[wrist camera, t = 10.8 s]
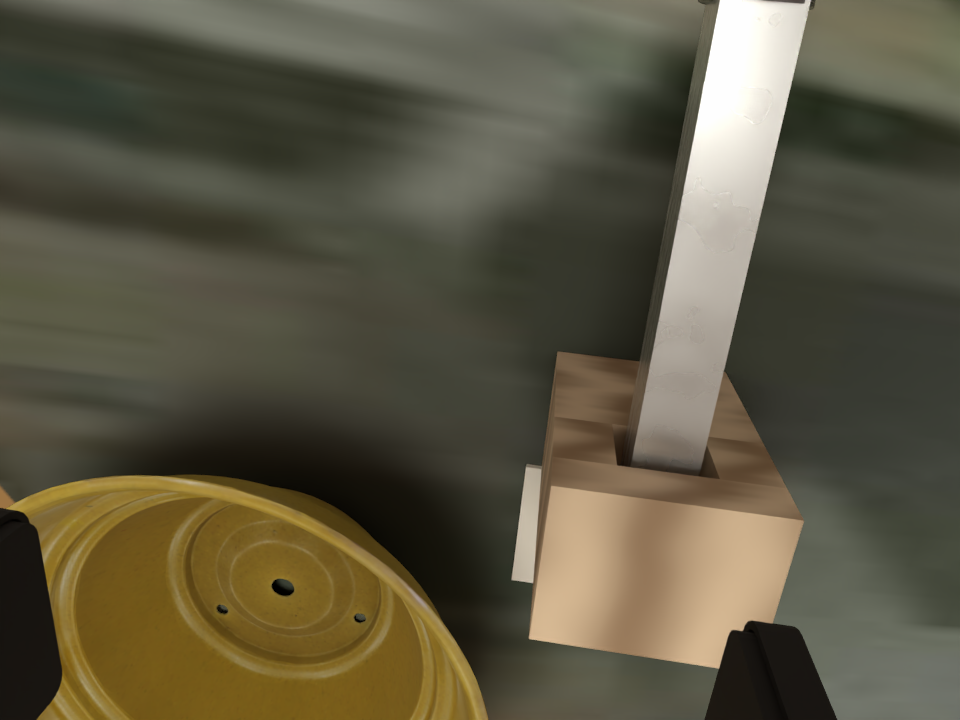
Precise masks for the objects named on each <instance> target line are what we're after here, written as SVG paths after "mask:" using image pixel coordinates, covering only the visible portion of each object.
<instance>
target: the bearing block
mask: <svg viewBox="0 0 960 720" xmlns="http://www.w3.org/2000/svg"><path fill="white" fill-rule="evenodd" d="M638 367H639V361H631V360H623V359H615V358H607V357H599V356H591V355H583V354H575V353H567V352H557V359H556V366H555V373H554V381H553V388H552V395H551V402H550V410H549V417H548V424H547V431H546V439H545V446H544V453H543V461H542V469H541V483H540V496H539V510H538V524H537V537H536V551H535V564H534V578H533V592H532V605H531V619H530V632H529V639H533V640H539V641H546V642H552V643H559V644H565V645H571V646H578V647H584V648H591V649H597V650H604V651H610V652H617V653H623V654H630V655H636V656H642V657H649V658H655V659H662V660H668V661H675V662H681V663H688V664H694V665H701V666H707V667H713V668H719V667H720V663H721V660H722V656H723V653H724V649H725V646H726V642H727V638H728V636H729V633H730V632H731V630H739V631H743V629H744V627H745V624H746V623H747V622H748V621H751V620H752V621H759V622H766V623H773V620H774V617H775V613H776V610H777V607H778V604H779V600H780V597H781V594H782V591H783V587H784V584H785V581H786V578H787V574H788V571H789V568H790V565H791V561H792V558H793V555H794V552H795V548H796V545H797V542H798V539H799V535H800V532H801V529H802V526H803V522H804V520H803V518H802V516H801V514H800V512H799V510H798V508H797V507H796V505H795V503H794V501H793V499H792V497H791V495H790V493H789V491H788V490H787V488H786V486H785V484H784V482H783V480H782V478H781V476H780V474H779V473H778V471H777V469H776V467H775V465H774V463H773V461H772V459H771V457H770V455H769V454H768V452H767V450H766V448H765V446H764V444H763V442H762V440H761V438H760V437H759V435H758V433H757V431H756V429H755V427H754V425H753V423H752V421H751V420H750V418H749V416H748V414H747V412H746V410H745V408H744V406H743V404H742V403H741V401H740V399H739V397H738V395H737V393H736V391H735V389H734V387H733V386H732V384H731V382H730V380H729V378H728V376H727V374H726V372H723V377H722V381H721V385H720V389H719V394H718V398H717V402H716V406H715V411H714V415H713V419H712V423H711V428H710V432H709V436H708V440H707V445H706V449H705V453H704V457H703V462H702V466H701V470H700V474H699V476H692V475H684V474H677V473H669V472H662V471H655V470H647V469H640V468H632V467H625V466H620V464H621V458H622V453H623V448H624V442H625V437H626V431H627V426H628V421H629V415H630V410H631V405H632V399H633V394H634V388H635V383H636V378H637V372H638Z"/></svg>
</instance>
